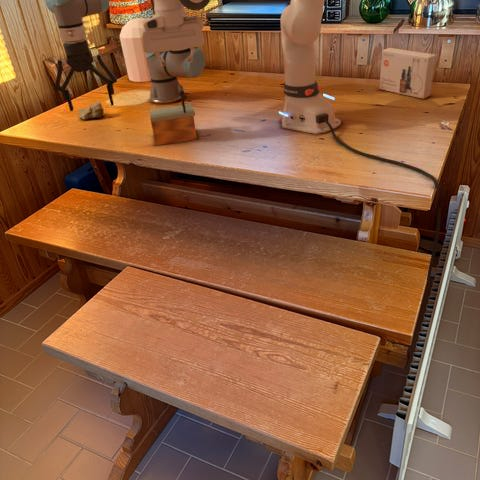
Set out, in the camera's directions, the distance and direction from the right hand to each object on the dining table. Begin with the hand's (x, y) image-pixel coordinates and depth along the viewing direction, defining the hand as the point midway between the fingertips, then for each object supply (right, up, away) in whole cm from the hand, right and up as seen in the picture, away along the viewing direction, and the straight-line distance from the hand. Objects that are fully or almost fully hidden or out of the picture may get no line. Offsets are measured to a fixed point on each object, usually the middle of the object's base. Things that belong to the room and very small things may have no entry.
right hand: (176, 63), depth 156 cm
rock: (-42, -7, +41) cm, 59 cm away
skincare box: (+88, +1, +33) cm, 94 cm away
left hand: (-29, -14, +2) cm, 33 cm away
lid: (-3, -15, +9) cm, 17 cm away
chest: (-2, -22, +14) cm, 26 cm away
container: (-27, +27, +88) cm, 96 cm away
